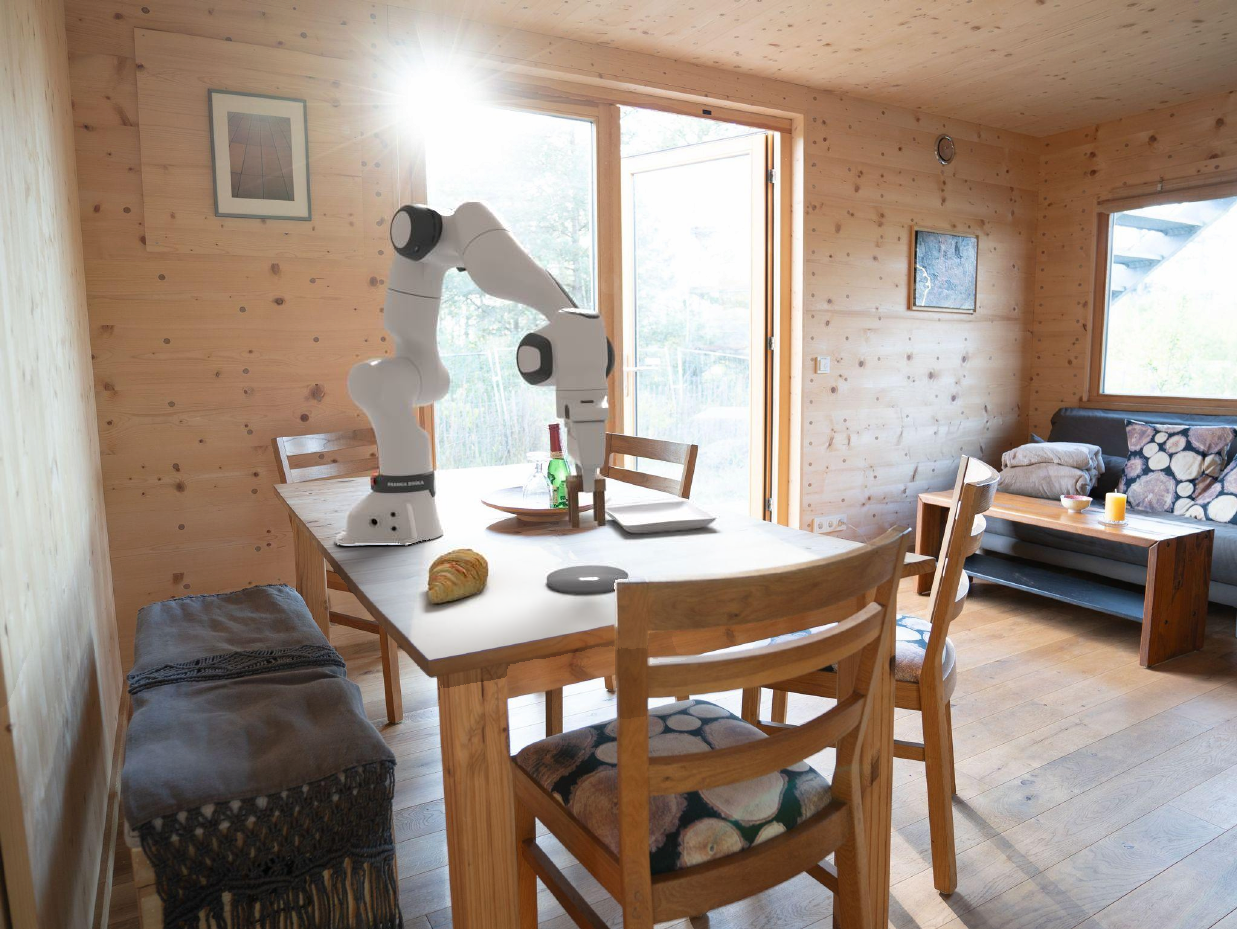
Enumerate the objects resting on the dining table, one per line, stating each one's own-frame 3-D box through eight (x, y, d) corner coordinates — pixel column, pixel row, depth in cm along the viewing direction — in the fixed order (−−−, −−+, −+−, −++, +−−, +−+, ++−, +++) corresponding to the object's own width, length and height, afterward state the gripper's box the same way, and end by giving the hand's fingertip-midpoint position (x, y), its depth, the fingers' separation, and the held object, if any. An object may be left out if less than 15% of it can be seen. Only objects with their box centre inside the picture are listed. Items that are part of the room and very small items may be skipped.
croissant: (451, 630, 126) (472, 588, 124) (396, 599, 127) (415, 557, 125) (495, 588, 147) (513, 551, 145) (447, 562, 148) (464, 525, 146)
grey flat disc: (550, 596, 131) (550, 590, 131) (543, 573, 144) (543, 568, 144) (635, 590, 133) (635, 584, 133) (620, 568, 147) (620, 563, 147)
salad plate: (624, 539, 171) (623, 523, 170) (602, 520, 191) (601, 506, 191) (718, 532, 176) (718, 516, 175) (687, 513, 196) (687, 500, 196)
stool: (571, 528, 134) (569, 480, 133) (567, 521, 140) (565, 475, 139) (607, 526, 135) (605, 478, 134) (601, 519, 141) (600, 473, 140)
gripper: (557, 404, 144) (560, 480, 146) (571, 411, 124) (574, 499, 126) (592, 402, 145) (594, 478, 147) (611, 409, 125) (613, 497, 127)
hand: (585, 488), depth 136 cm, fingers closed on stool, 6 cm apart
